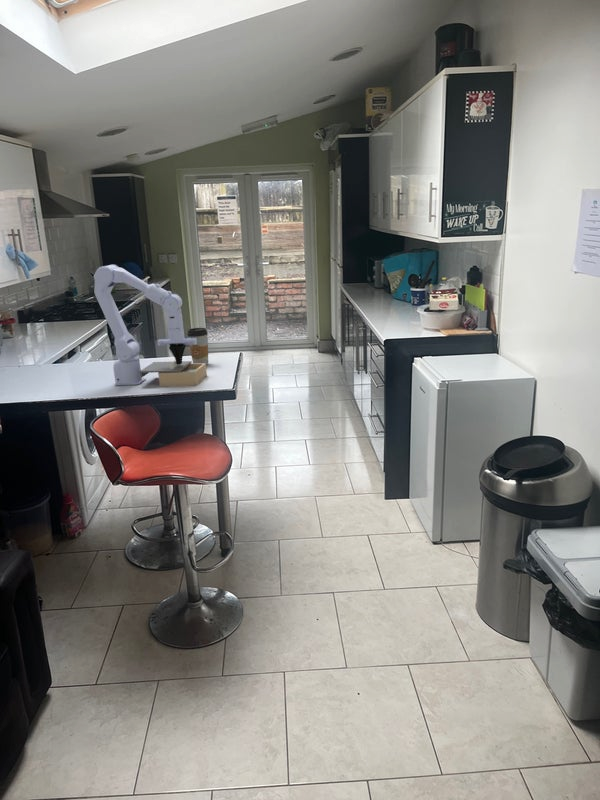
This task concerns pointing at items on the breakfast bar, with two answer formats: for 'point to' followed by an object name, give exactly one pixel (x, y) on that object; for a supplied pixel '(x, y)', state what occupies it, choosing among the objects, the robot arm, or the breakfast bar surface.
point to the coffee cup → (199, 345)
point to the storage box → (184, 376)
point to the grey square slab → (164, 367)
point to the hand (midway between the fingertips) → (179, 363)
